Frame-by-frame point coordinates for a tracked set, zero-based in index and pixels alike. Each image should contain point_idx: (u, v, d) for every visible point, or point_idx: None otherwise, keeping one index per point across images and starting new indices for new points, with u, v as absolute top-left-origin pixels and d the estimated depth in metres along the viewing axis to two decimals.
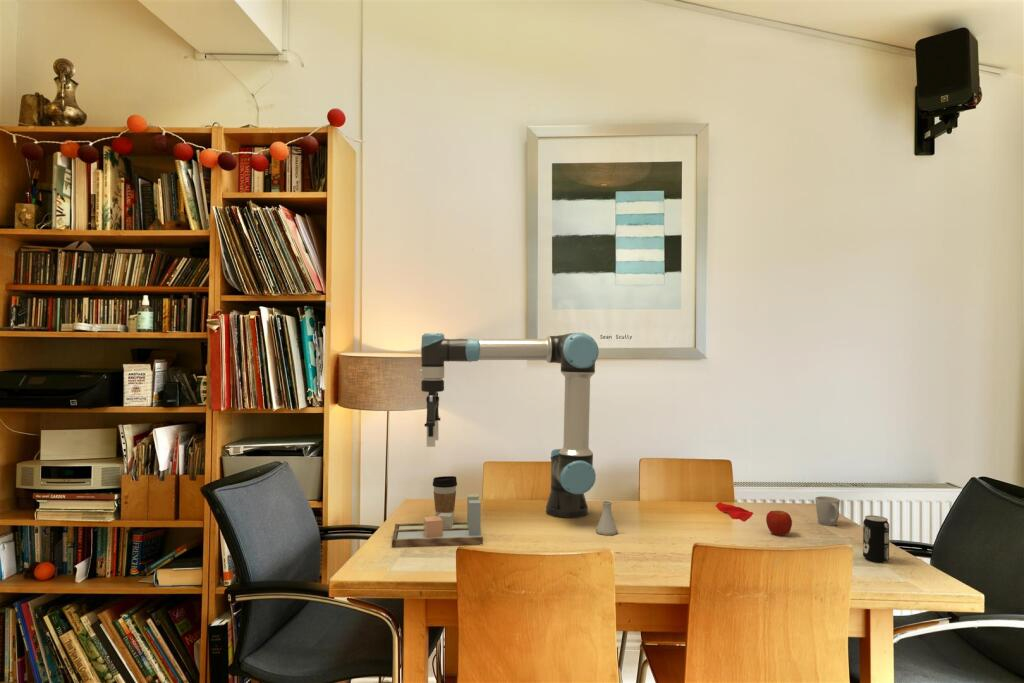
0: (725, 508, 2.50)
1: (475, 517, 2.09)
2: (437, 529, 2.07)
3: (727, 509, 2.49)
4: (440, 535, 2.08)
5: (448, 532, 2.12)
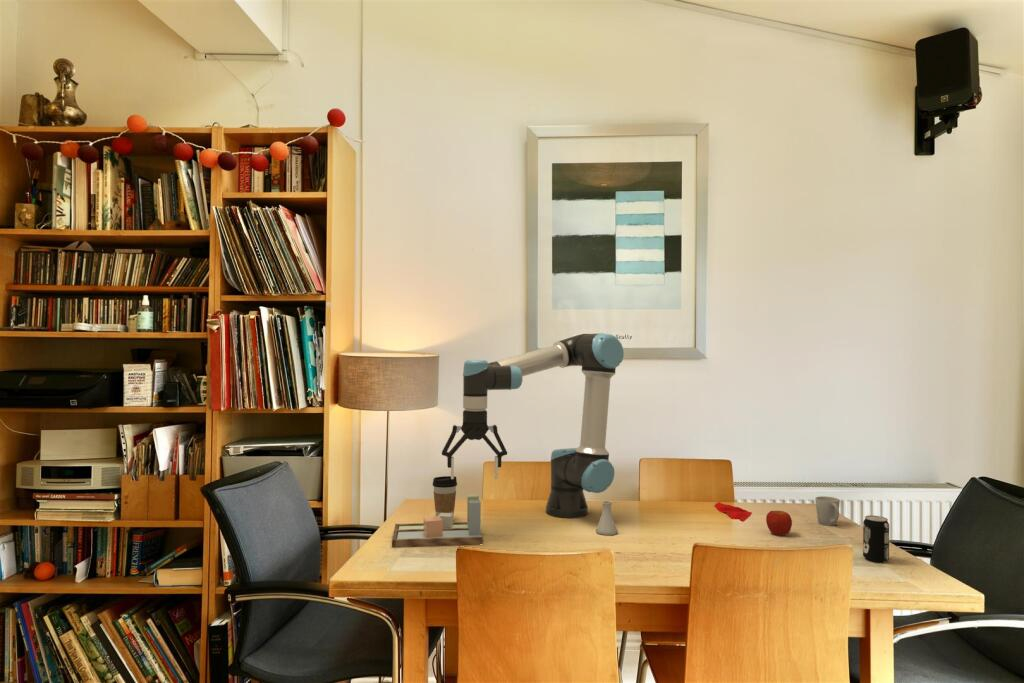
0: (723, 508, 2.50)
1: (475, 517, 2.09)
2: (437, 529, 2.07)
3: (726, 509, 2.49)
4: (440, 535, 2.08)
5: (448, 532, 2.12)
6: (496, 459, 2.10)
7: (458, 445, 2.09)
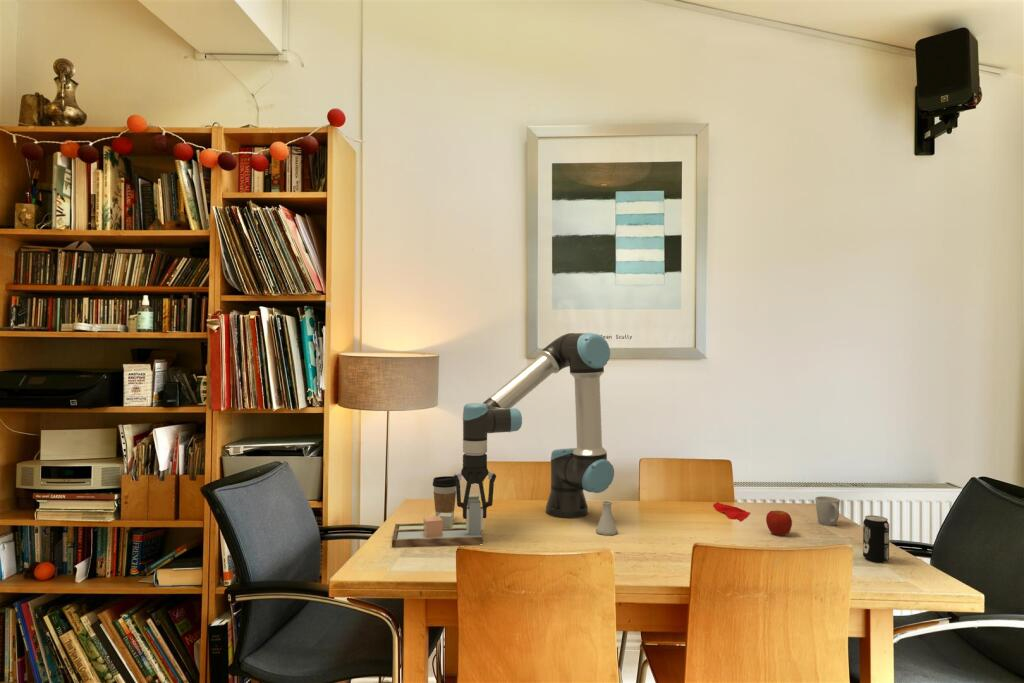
0: (722, 508, 2.50)
1: (475, 517, 2.09)
2: (437, 529, 2.07)
3: (724, 509, 2.49)
4: (440, 535, 2.08)
5: (448, 532, 2.12)
6: (481, 510, 2.10)
7: (467, 493, 2.09)
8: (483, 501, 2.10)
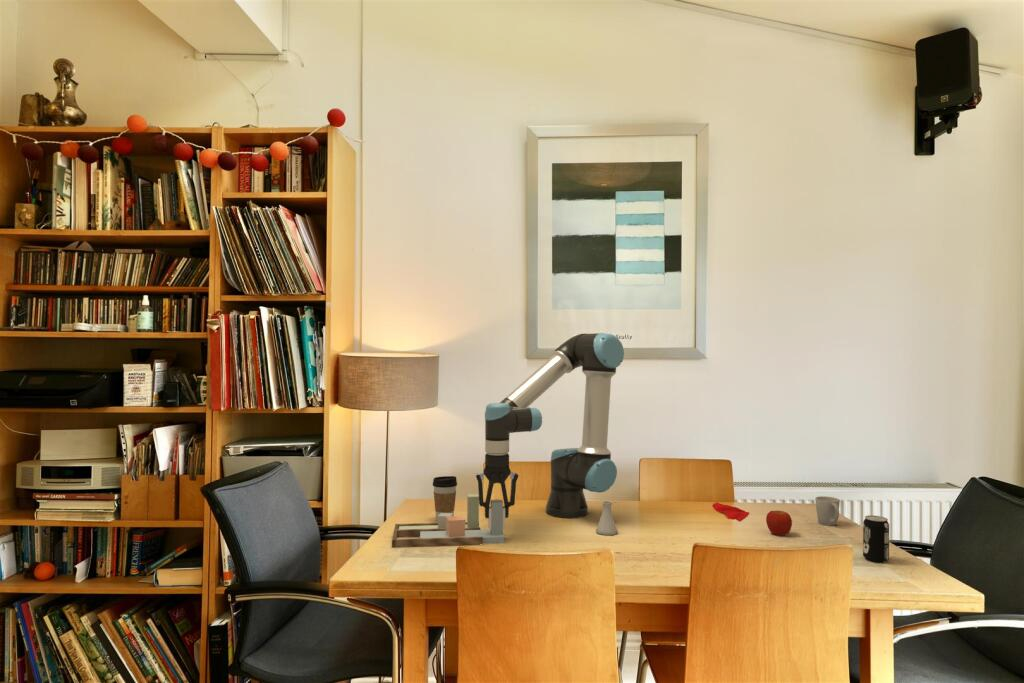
0: (721, 508, 2.50)
1: (497, 516, 2.10)
2: (459, 528, 2.08)
3: (723, 509, 2.49)
4: (463, 534, 2.08)
5: (470, 531, 2.13)
6: (503, 510, 2.10)
7: (489, 493, 2.10)
8: (505, 501, 2.11)
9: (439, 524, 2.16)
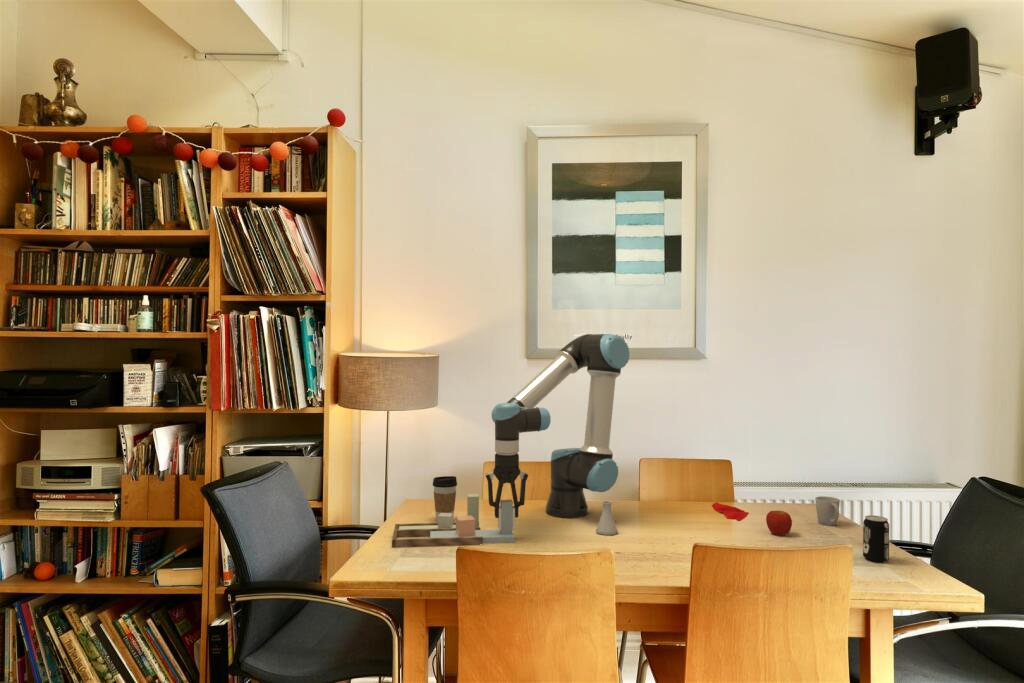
0: (720, 508, 2.50)
1: (507, 516, 2.10)
2: (469, 528, 2.08)
3: (723, 509, 2.49)
4: (473, 534, 2.09)
5: (480, 531, 2.13)
6: (513, 509, 2.11)
7: (499, 493, 2.10)
8: (515, 500, 2.11)
9: (439, 524, 2.16)
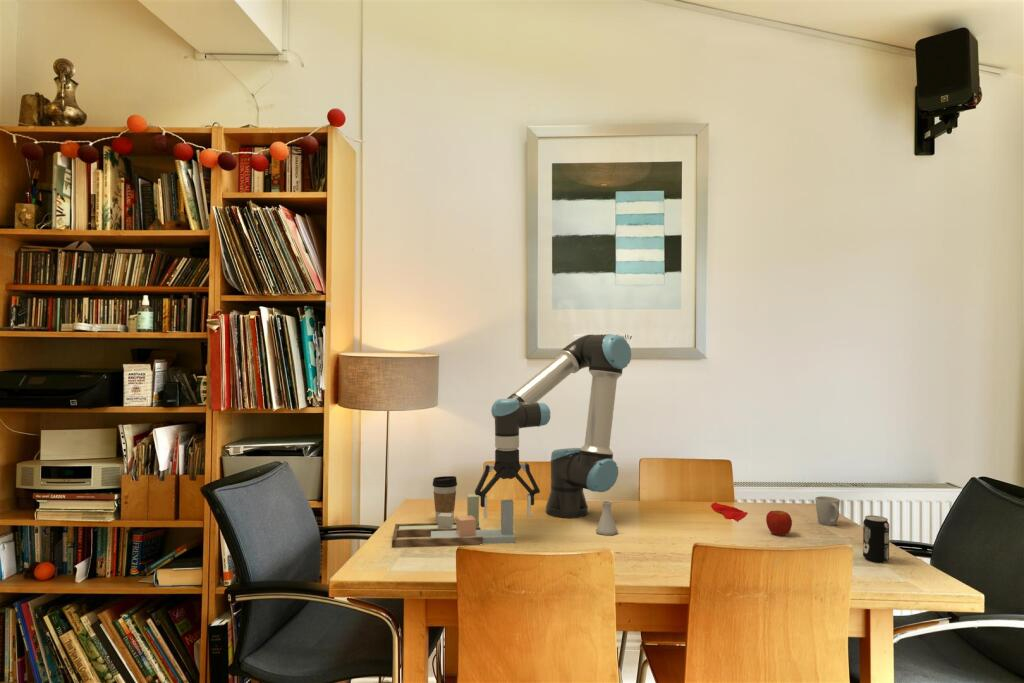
0: (719, 508, 2.50)
1: (508, 516, 2.10)
2: (470, 528, 2.08)
3: (721, 509, 2.49)
4: (473, 534, 2.09)
5: (480, 531, 2.13)
6: (529, 497, 2.12)
7: (491, 484, 2.10)
8: (528, 490, 2.12)
9: (439, 524, 2.16)
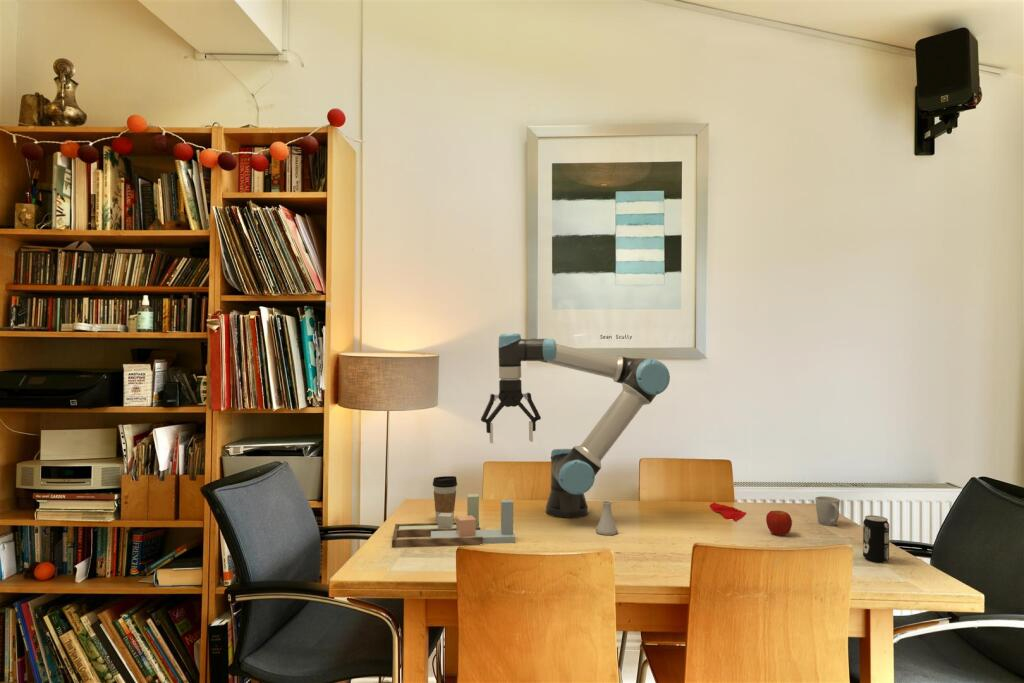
0: (718, 508, 2.50)
1: (508, 516, 2.10)
2: (470, 528, 2.08)
3: (720, 509, 2.49)
4: (473, 534, 2.09)
5: (480, 531, 2.13)
6: (531, 423, 2.29)
7: (496, 412, 2.27)
8: (530, 416, 2.30)
9: (439, 524, 2.16)
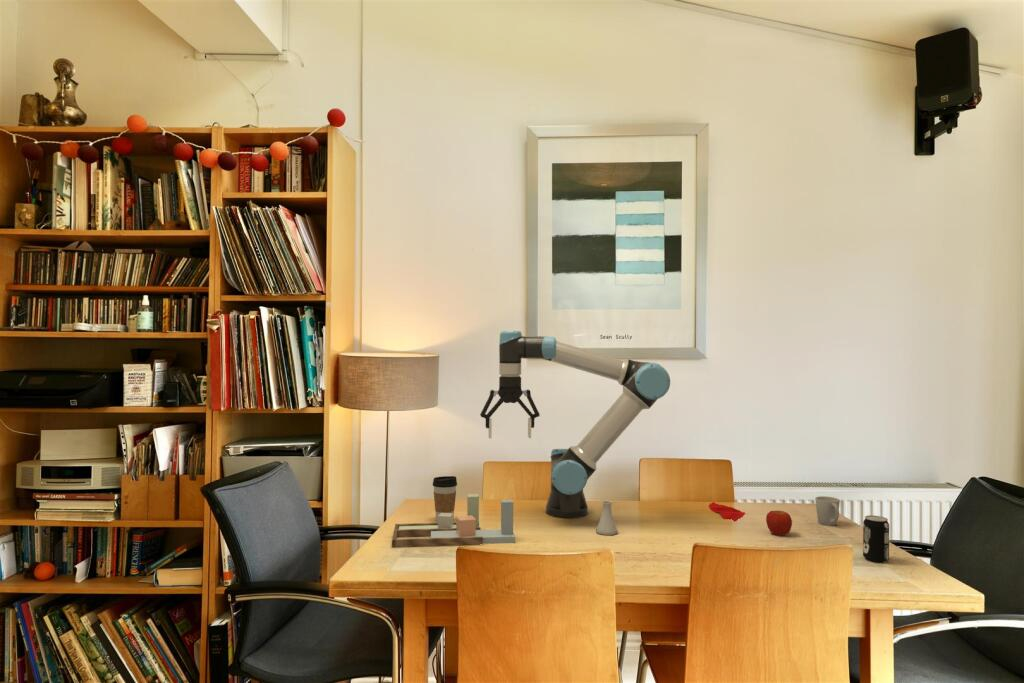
0: (717, 508, 2.50)
1: (508, 516, 2.10)
2: (470, 528, 2.08)
3: (719, 509, 2.49)
4: (473, 534, 2.09)
5: (480, 531, 2.13)
6: (530, 420, 2.32)
7: (495, 408, 2.31)
8: (529, 413, 2.32)
9: (439, 524, 2.16)
